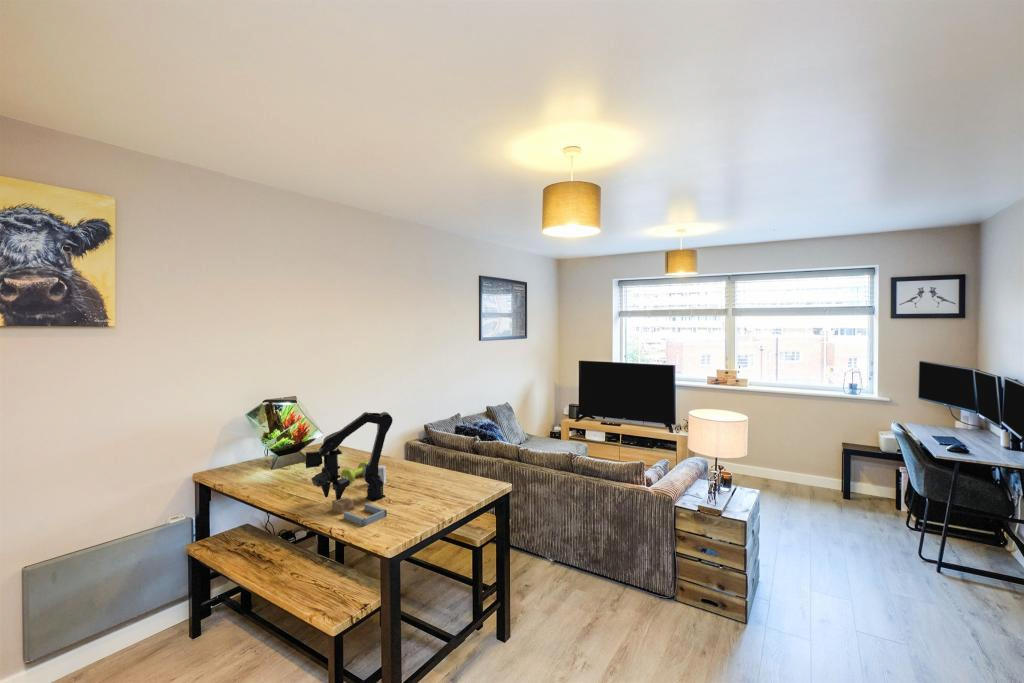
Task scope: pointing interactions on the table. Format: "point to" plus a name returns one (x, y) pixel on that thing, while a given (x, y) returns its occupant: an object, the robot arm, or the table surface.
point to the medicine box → (382, 473)
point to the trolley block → (343, 505)
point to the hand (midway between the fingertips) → (332, 499)
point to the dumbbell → (353, 472)
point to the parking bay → (365, 521)
